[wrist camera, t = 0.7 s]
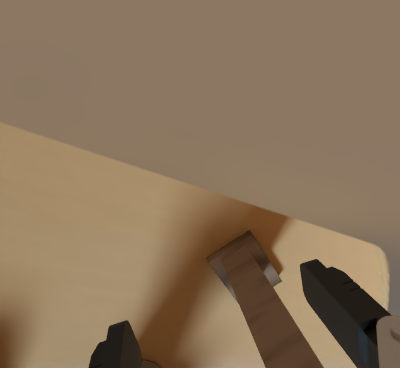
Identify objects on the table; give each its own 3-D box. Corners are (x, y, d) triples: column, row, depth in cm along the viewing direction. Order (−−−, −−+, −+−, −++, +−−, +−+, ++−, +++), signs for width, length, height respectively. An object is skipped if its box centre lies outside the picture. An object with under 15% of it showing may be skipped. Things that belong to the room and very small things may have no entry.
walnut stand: (278, 276, 52) (427, 488, 24) (238, 301, 52) (339, 540, 24) (249, 230, 48) (388, 420, 20) (206, 257, 48) (282, 484, 20)
